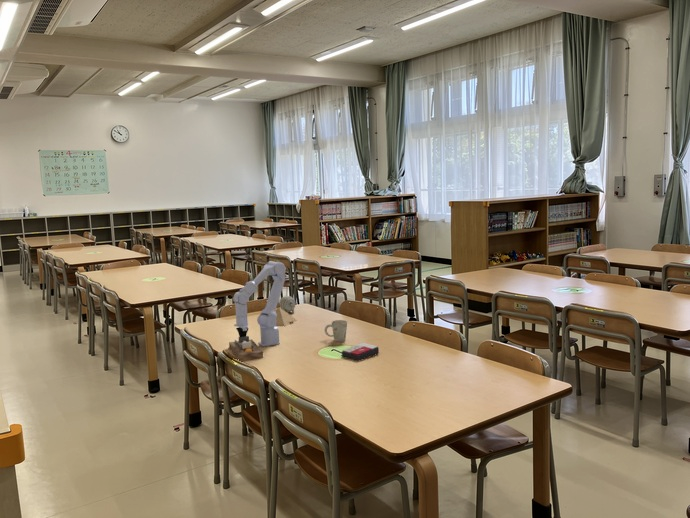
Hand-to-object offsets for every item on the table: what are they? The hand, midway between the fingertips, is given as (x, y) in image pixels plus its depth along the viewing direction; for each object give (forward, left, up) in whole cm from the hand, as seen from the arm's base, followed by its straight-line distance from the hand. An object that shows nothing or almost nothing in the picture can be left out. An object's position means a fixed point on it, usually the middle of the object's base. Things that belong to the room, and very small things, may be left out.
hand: (242, 341), depth 278 cm
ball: (0, +13, -2) cm, 13 cm away
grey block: (0, +6, -1) cm, 6 cm away
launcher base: (0, +5, -4) cm, 7 cm away
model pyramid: (-33, -46, -5) cm, 57 cm away
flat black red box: (-50, +35, -5) cm, 62 cm away
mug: (-49, +5, -5) cm, 49 cm away
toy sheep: (-44, -70, -5) cm, 82 cm away
